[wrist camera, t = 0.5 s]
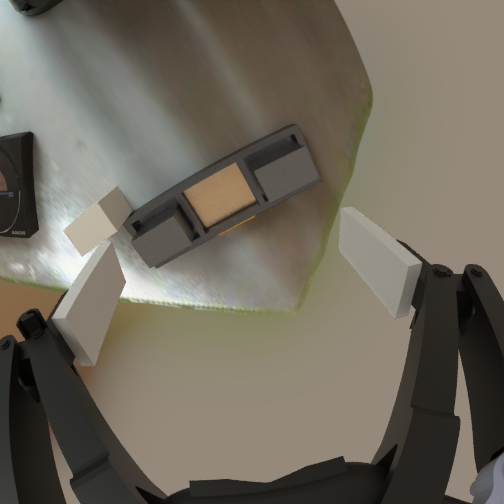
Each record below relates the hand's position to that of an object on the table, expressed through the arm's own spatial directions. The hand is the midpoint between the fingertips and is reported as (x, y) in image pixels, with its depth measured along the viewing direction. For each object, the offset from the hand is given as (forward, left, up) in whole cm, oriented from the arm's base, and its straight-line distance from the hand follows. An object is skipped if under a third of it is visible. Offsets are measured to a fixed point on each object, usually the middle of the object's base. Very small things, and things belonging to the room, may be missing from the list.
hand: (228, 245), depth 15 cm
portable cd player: (-20, -34, -26) cm, 47 cm away
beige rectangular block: (-3, -18, -25) cm, 31 cm away
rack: (+4, -2, -25) cm, 26 cm away
